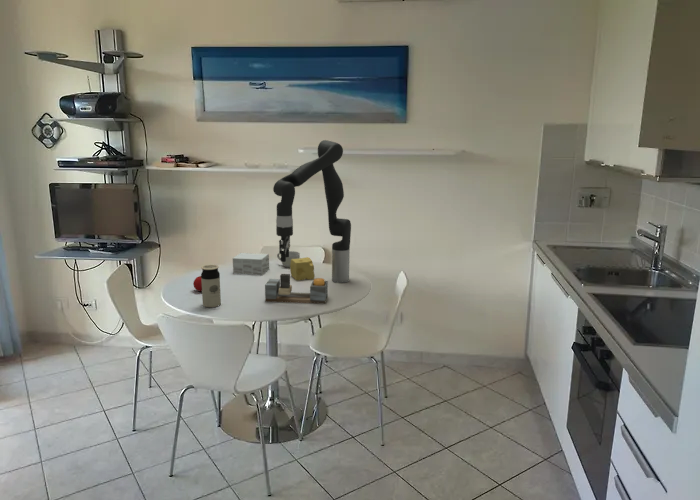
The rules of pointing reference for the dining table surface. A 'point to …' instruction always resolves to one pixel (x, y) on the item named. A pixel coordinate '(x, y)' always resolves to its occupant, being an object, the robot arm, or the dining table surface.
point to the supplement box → (251, 264)
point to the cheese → (302, 269)
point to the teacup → (291, 256)
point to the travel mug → (210, 286)
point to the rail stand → (315, 296)
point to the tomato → (198, 283)
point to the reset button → (319, 282)
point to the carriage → (285, 284)
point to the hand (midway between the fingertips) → (285, 259)
